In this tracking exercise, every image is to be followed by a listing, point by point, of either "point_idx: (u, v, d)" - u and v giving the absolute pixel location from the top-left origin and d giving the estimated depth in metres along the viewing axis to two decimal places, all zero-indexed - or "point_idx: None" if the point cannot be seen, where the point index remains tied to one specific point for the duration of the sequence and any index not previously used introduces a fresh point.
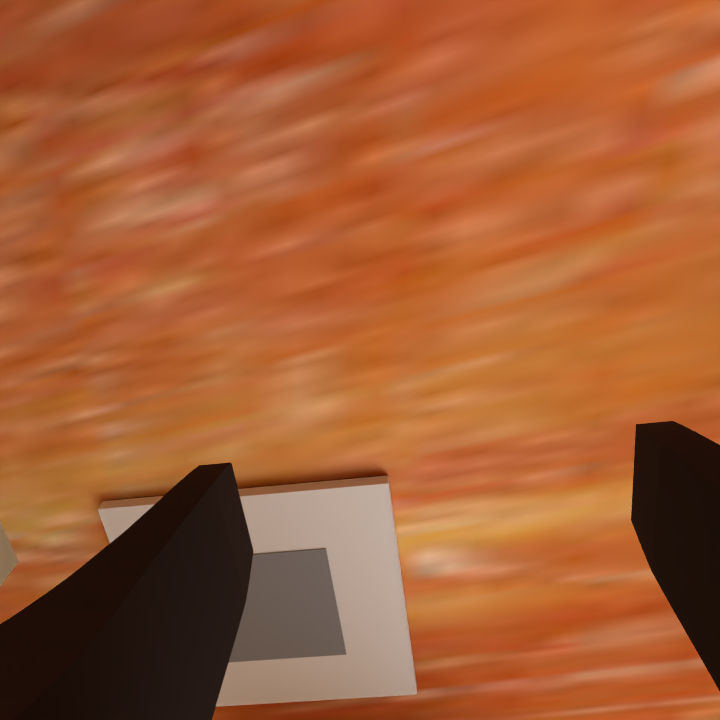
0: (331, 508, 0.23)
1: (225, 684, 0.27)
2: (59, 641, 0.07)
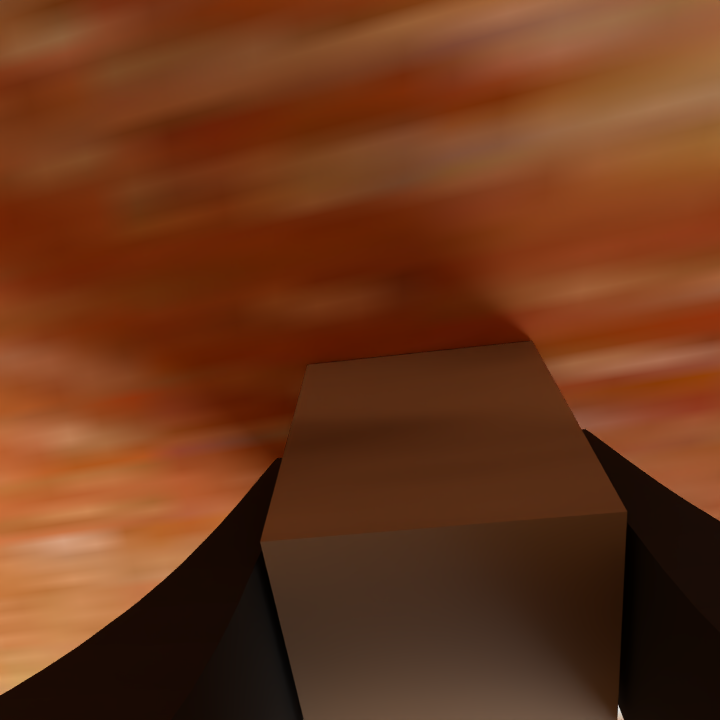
0: None
1: None
2: (190, 632, 0.06)
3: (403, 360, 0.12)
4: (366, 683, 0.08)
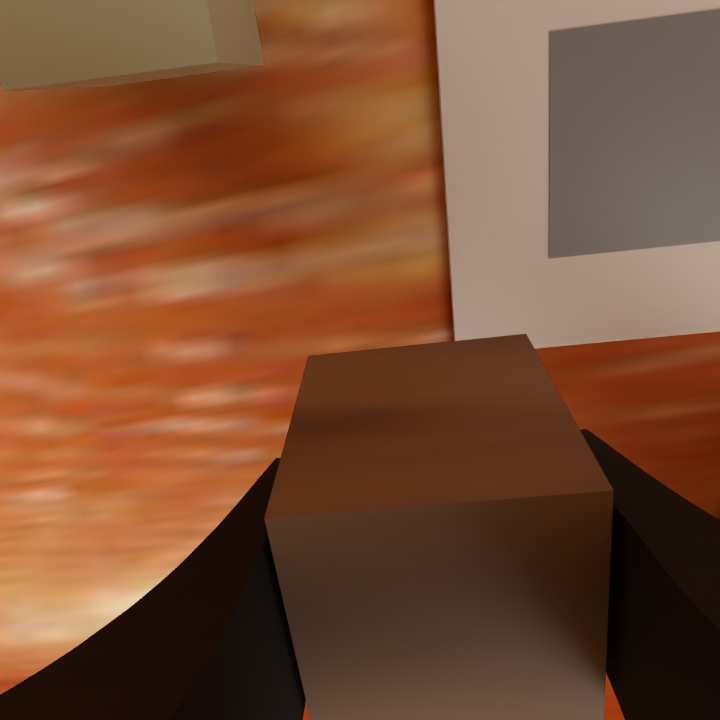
0: None
1: (552, 304, 0.18)
2: (189, 632, 0.06)
3: (401, 352, 0.12)
4: (364, 657, 0.09)
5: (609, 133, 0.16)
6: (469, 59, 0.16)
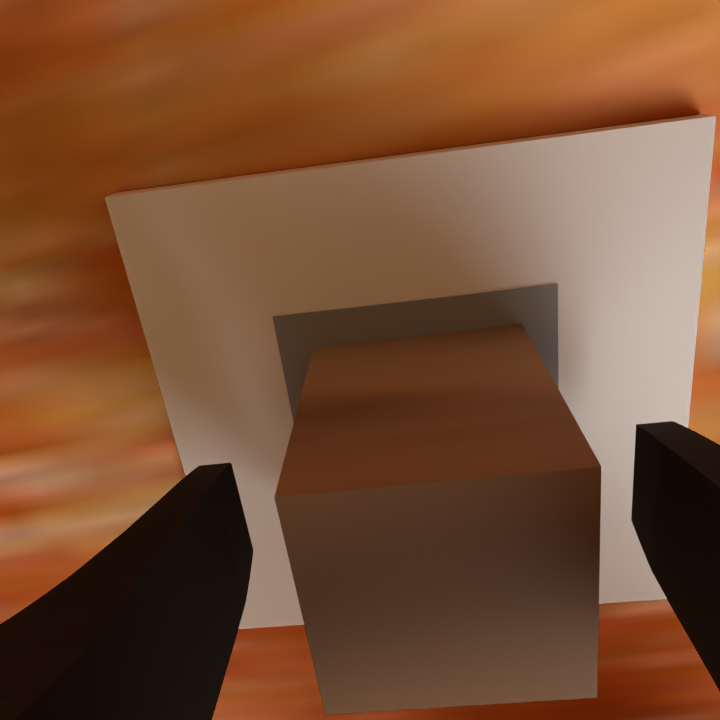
0: (583, 185, 0.11)
1: None
2: (59, 641, 0.07)
3: (402, 343, 0.12)
4: (368, 629, 0.09)
5: None
6: (183, 343, 0.13)
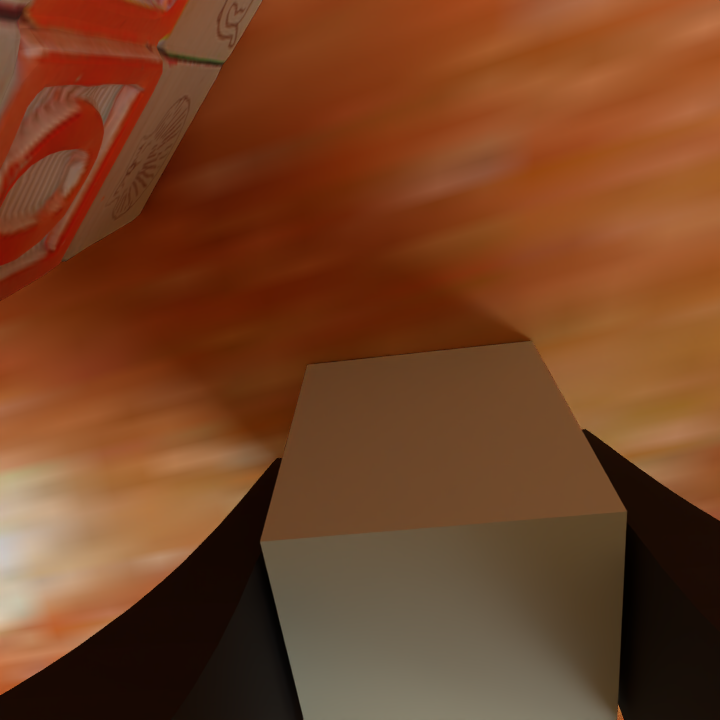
0: None
1: None
2: (190, 632, 0.06)
3: None
4: None
5: None
6: None
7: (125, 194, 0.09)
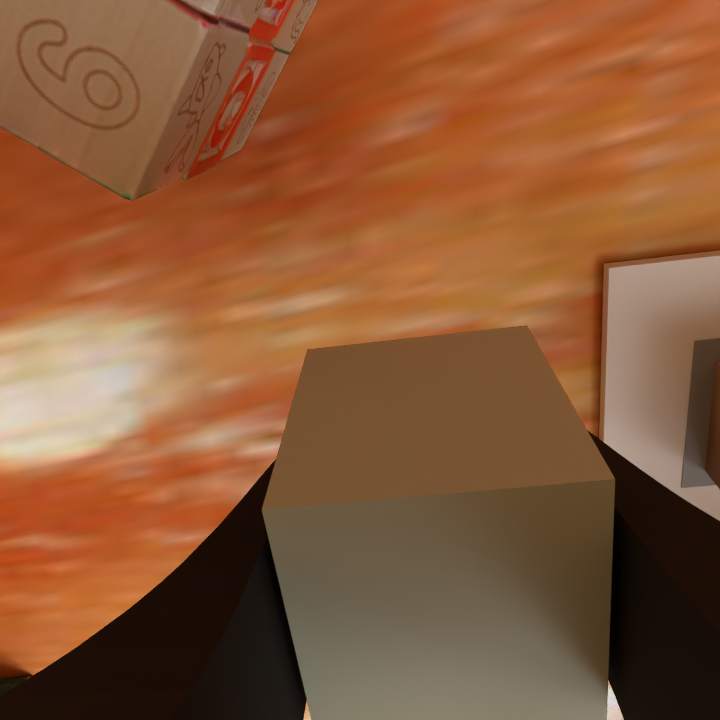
0: None
1: None
2: (190, 632, 0.06)
3: None
4: None
5: None
6: (630, 357, 0.20)
7: (244, 128, 0.17)
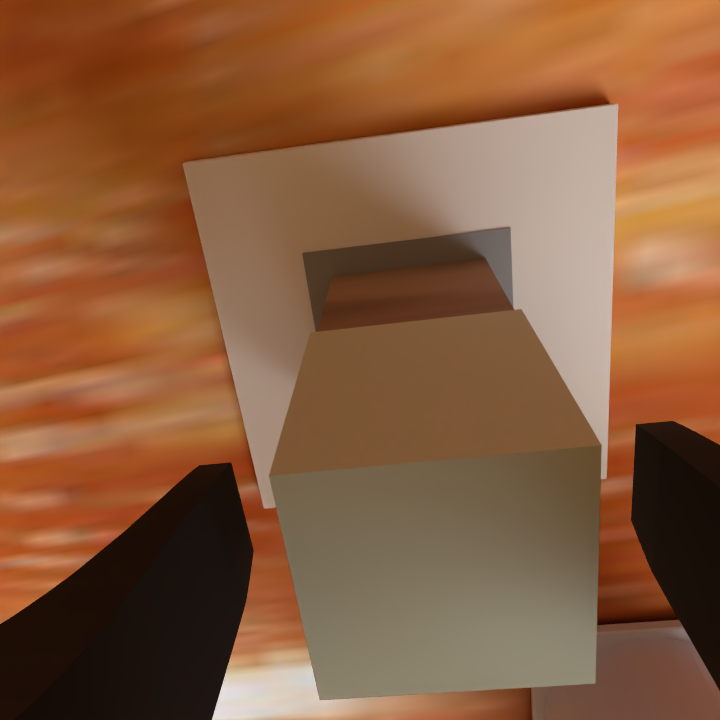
0: (527, 153, 0.16)
1: None
2: (59, 641, 0.07)
3: (397, 271, 0.17)
4: None
5: None
6: (235, 274, 0.18)
7: None
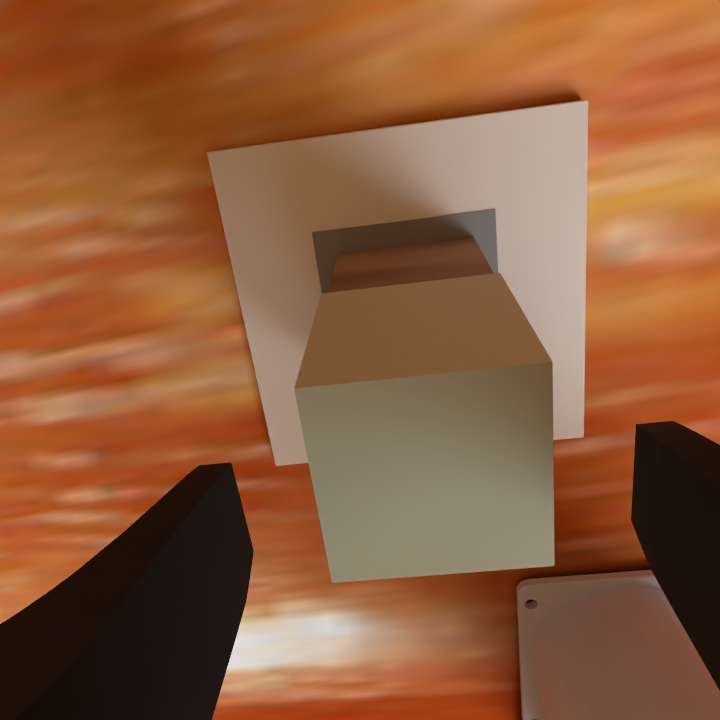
0: (509, 144, 0.18)
1: None
2: (59, 641, 0.07)
3: (396, 248, 0.19)
4: None
5: None
6: (252, 251, 0.20)
7: None
